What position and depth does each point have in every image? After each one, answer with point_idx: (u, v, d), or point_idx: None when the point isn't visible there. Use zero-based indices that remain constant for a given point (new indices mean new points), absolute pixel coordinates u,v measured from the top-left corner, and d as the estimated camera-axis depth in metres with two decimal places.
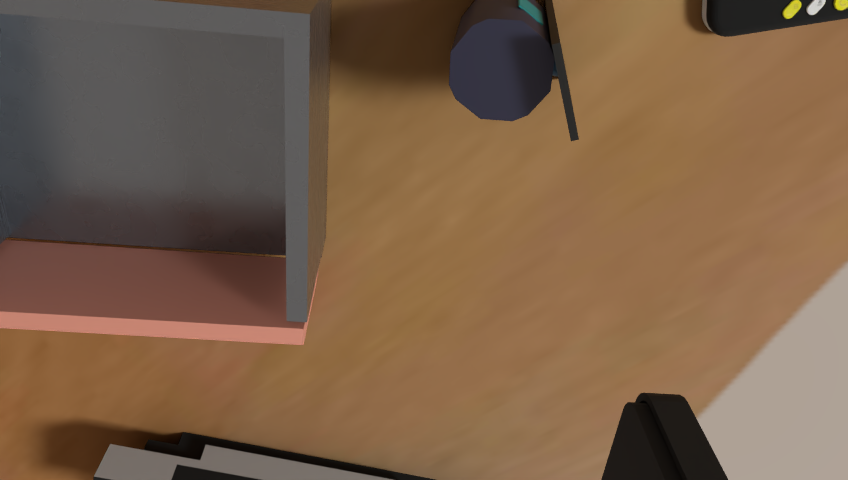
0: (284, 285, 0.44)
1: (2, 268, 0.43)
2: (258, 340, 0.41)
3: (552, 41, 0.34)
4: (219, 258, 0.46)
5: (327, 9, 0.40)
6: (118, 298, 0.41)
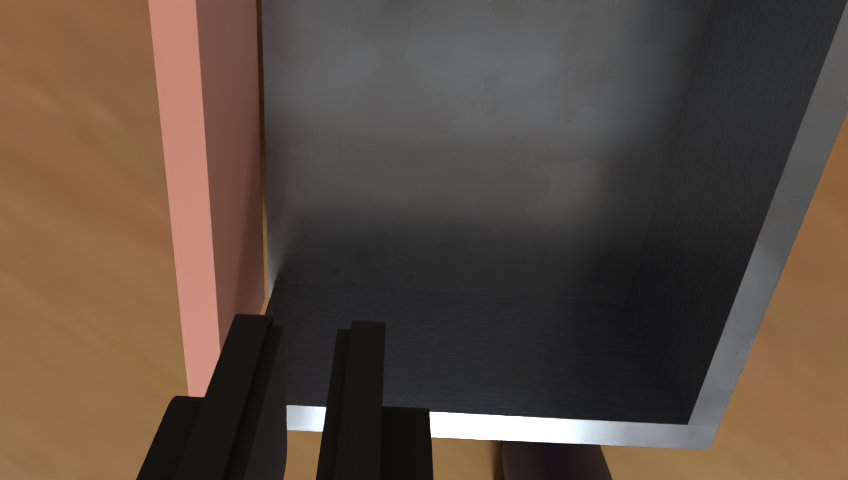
0: (247, 308, 0.28)
1: None
2: (189, 363, 0.23)
3: None
4: (258, 172, 0.28)
5: None
6: (220, 99, 0.21)
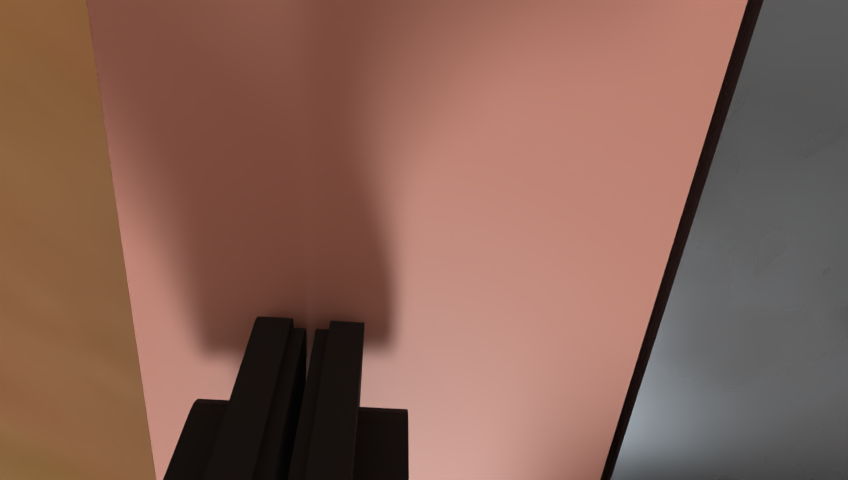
0: None
1: None
2: None
3: None
4: None
5: None
6: None
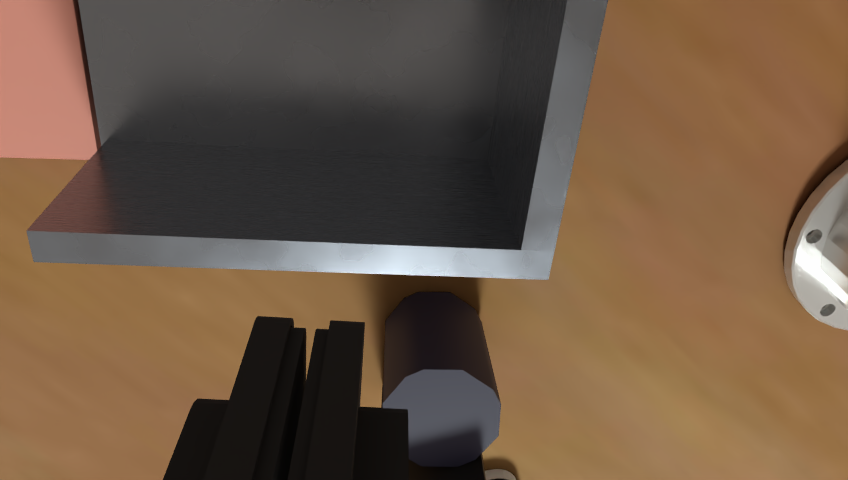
0: (3, 116, 0.28)
1: None
2: None
3: (484, 476, 0.32)
4: (55, 0, 0.26)
5: None
6: None
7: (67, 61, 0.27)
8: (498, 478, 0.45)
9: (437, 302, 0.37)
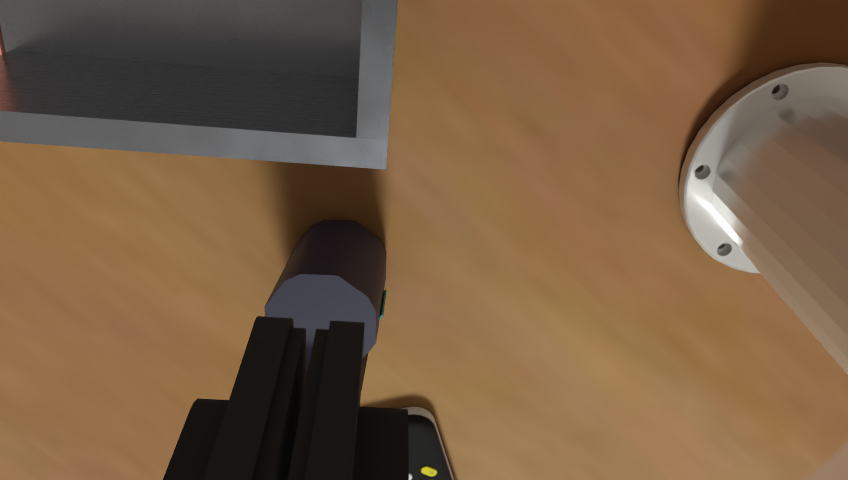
0: None
1: None
2: None
3: None
4: None
5: None
6: None
7: None
8: (414, 414, 0.46)
9: (338, 228, 0.39)
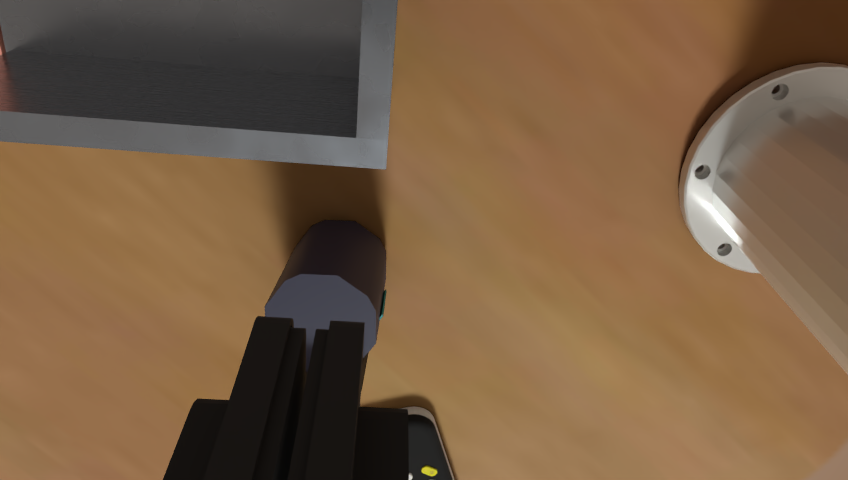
0: None
1: None
2: None
3: None
4: None
5: None
6: None
7: None
8: (413, 414, 0.46)
9: (338, 228, 0.39)
